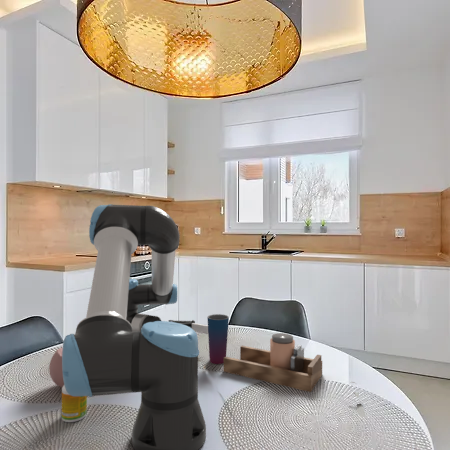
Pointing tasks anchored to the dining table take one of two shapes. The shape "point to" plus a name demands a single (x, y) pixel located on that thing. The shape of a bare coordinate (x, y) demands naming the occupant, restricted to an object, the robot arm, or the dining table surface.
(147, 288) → the robot arm
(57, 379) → the pink round piece
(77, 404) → the supplement bottle
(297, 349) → the pusher
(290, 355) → the jar
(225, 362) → the wooden tray
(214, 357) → the cup
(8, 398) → the dining table surface
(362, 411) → the spoon
